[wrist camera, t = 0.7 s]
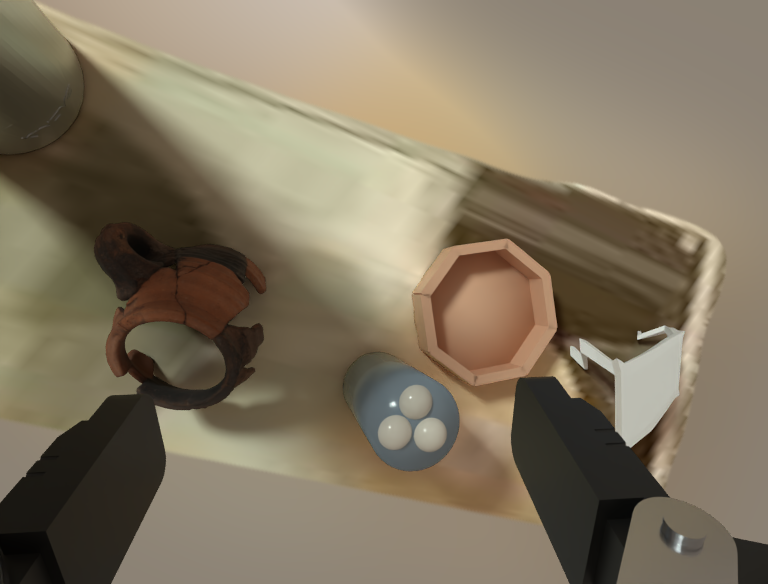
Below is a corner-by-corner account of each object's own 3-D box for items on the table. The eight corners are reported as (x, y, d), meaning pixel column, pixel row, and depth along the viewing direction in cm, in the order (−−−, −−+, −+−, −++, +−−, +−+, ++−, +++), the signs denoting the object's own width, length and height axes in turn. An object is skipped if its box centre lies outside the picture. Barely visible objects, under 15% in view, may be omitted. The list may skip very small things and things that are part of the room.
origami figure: (569, 299, 38) (611, 301, 34) (656, 326, 40) (707, 331, 35) (532, 446, 38) (569, 469, 33) (621, 467, 39) (669, 492, 35)
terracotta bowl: (387, 325, 35) (395, 328, 33) (464, 218, 36) (477, 213, 34) (489, 401, 37) (504, 409, 34) (559, 296, 38) (578, 296, 36)
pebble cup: (329, 395, 34) (349, 441, 24) (370, 338, 35) (407, 359, 24) (384, 433, 35) (427, 493, 25) (423, 377, 36) (481, 412, 25)
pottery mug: (305, 298, 34) (288, 371, 27) (215, 365, 37) (177, 447, 30) (173, 167, 30) (109, 214, 22) (80, 254, 32) (-3, 320, 25)
